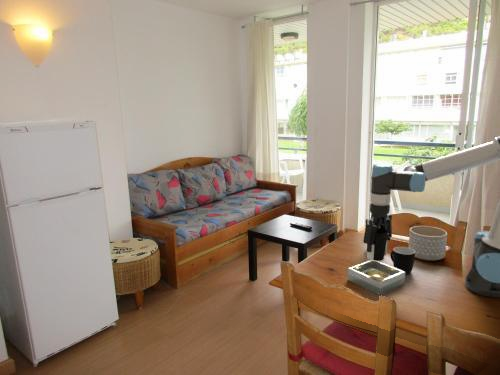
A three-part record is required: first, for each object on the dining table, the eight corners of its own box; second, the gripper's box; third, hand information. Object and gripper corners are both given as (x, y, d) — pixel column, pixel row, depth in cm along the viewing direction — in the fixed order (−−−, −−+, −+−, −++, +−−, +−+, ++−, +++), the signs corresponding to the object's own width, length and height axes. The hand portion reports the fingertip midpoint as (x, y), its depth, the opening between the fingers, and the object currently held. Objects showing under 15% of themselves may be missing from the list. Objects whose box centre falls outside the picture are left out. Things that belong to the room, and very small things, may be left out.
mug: (418, 274, 160) (419, 252, 158) (402, 277, 157) (403, 255, 155) (398, 263, 171) (399, 243, 169) (382, 267, 168) (383, 246, 166)
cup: (375, 263, 147) (377, 234, 144) (362, 256, 154) (364, 229, 151) (390, 259, 150) (392, 231, 147) (377, 253, 157) (378, 226, 154)
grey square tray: (404, 284, 152) (405, 271, 150) (379, 295, 143) (380, 282, 142) (372, 270, 165) (373, 259, 164) (347, 280, 156) (348, 268, 155)
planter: (423, 264, 170) (425, 238, 168) (400, 251, 186) (402, 227, 183) (452, 260, 174) (455, 234, 172) (428, 247, 190) (430, 224, 187)
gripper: (388, 197, 155) (384, 248, 160) (355, 205, 144) (352, 259, 149) (404, 201, 149) (400, 253, 154) (370, 209, 138) (367, 265, 143)
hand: (376, 256), depth 152 cm, fingers closed on cup, 8 cm apart
